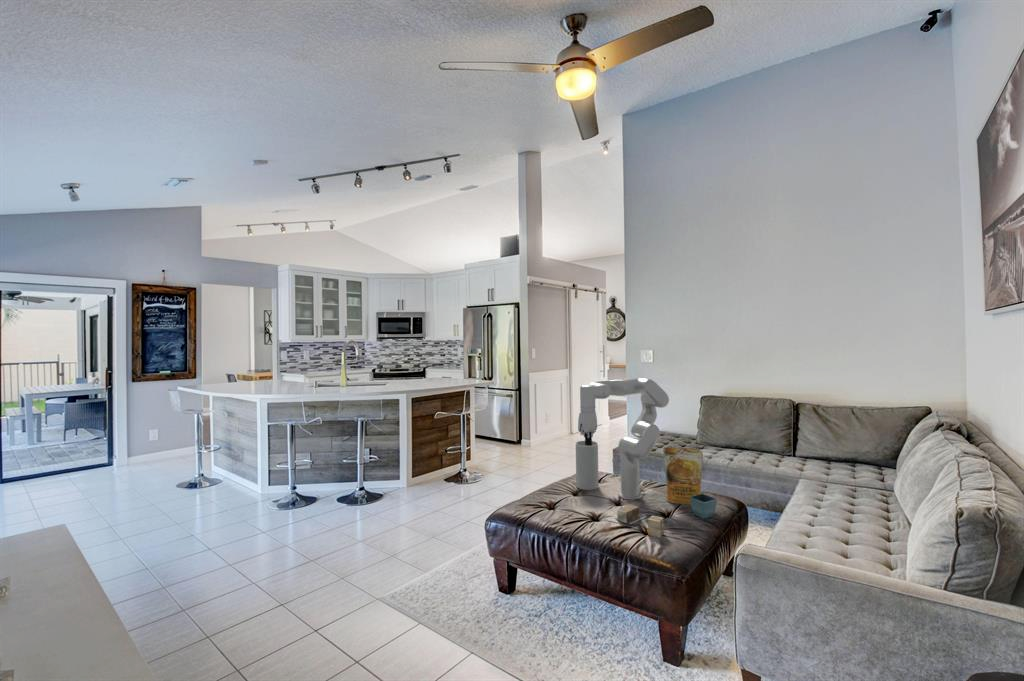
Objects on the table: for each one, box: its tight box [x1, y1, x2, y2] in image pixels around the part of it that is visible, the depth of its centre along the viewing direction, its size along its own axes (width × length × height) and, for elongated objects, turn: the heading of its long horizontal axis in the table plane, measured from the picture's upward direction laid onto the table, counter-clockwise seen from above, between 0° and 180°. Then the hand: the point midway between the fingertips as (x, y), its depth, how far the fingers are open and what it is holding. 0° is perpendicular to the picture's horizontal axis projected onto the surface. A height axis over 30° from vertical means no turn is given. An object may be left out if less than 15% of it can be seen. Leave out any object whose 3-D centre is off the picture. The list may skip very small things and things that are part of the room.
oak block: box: [647, 515, 664, 538], centre depth 213 cm, size 5×5×7 cm
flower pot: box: [690, 493, 718, 519], centre depth 230 cm, size 9×9×9 cm
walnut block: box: [616, 503, 640, 524], centre depth 229 cm, size 5×5×10 cm
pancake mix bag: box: [662, 446, 704, 506], centre depth 248 cm, size 7×19×28 cm, turn 69°
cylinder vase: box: [575, 440, 600, 491], centre depth 274 cm, size 12×12×25 cm
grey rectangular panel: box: [614, 513, 647, 525], centre depth 231 cm, size 12×9×1 cm
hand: (588, 445), depth 246 cm, fingers closed
